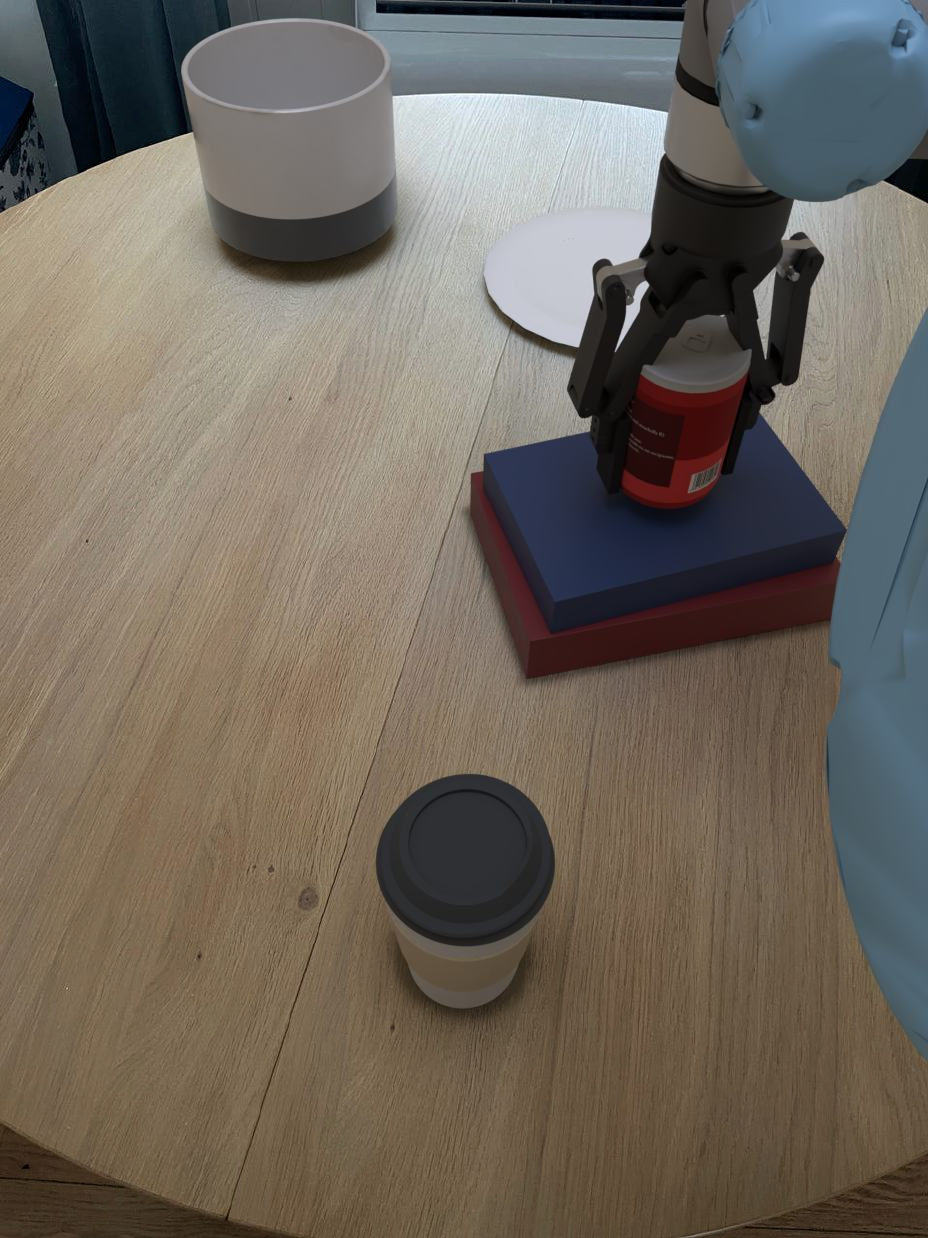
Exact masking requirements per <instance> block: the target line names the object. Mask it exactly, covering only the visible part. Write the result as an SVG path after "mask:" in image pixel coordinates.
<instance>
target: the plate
mask: <svg viewBox="0 0 928 1238" xmlns="http://www.w3.org/2000/svg"><path fill="white" fill-rule="evenodd" d="M651 217H652V212H647V211H642V210H637V209H633V208H627V207H613V206H601V205H595V206H594V205H593V206H580V207H568V208H563V209H559V210H555V211H550V212H546V213H542V214H539V215H536V216H534V217H532V218H530V219H528V220H525V221H523V222H521V223H518V224H516V225H515V226H514V227H512V228H511V229H510V230H508V231H507V232H505V233H504V234H502V235H501V236H500V237H498V239H497V240H496V242H495V243H494V244H493V246H492V247H491V249H490V250H489V252H488V253H487V254H486V259H485V263H484V269H483V278H484V282H485V285H486V290H487V294H488V296H489V297H490V299H491V300H492V301H493V303H494V304H495V305H496V307H497V308H498V309H499V311H500V312H501V314H503V315H504V316H505V317H507V318H508V319H509V320H511V321H512V322H513V323H515V324H516V325H517V326H519V327H520V328H521V329H523V330H524V331H526V332H528V333H530V334H533V335H535V336H537V337H539V338H542V339H544V340H546V341H548V342H551V343H553V344H556V345H559V346H564V347H568V348H572V349H577V350H578V348H579V345H580V341H581V338H582V334H583V331H584V328H585V324H586V321H587V317H588V314H589V311H590V307H591V304H592V300H593V297H594V286H593V275H592V268H593V265H594V264H595V263H596V262H597V261H598V260H600V259H609V260H610V261H611V263H612V265H613V266H615V265H618V264H621V263H625V262H628V261H631V260H635V259H638V258H639V254H640V252H641V250H642V249H643V247H644V246H645V245H646V243H647V241H648V239H649V237H650V233H651ZM580 236H582V237H580ZM576 237H578V238H576ZM569 238H574V239H569ZM568 239H569V240H568ZM564 240H565V241H564ZM562 241H563V242H562ZM648 287H649V284H648V283H647V281H644V282H642V283H641V284H639V285H638V286H637V288H636V290H635V294H634V296H633V298H634V302H633V303H632V304H631V305H626V317H625V322H624V325H623V329H622V332H621V335H620V338H619V341H618V344H617V347H616V350H617V348H618V347H619V345H620V343H621V342H622V340H623V338H624V337H625V335H626V333H627V332H628V330H629V328H630V326H631V325H632V323H633V321H634V320H635V318H636V316H637V315H638V313H639V311H640V302H641V299H642V297H643V295H644V293H645V292H646V290H647V288H648ZM721 316H722V317H724V318H725V317H726V315H721ZM616 350H615V352H616Z"/></svg>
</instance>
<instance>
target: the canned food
mask: <svg viewBox="0 0 928 1238" xmlns="http://www.w3.org/2000/svg"><path fill="white" fill-rule="evenodd" d="M751 352H752V350H751V349H748V350H745V351H743V350H742V348H741V347H740V346H739V344H738V343H737V341H736V340H735V338H734V337H733V335H732V333H731V332H730V330H729V328H728V324H727V320H726V317H725V316H724V317H722V316H714V315H704V316H701V317H699V318H696V319H693V320H687V321H686V322H685V324H684V325H683V327H682V329H681V330H680V332H679V333H678V335H677V336H676V337H675V338H669V340H668V341H667V343H666V344H665V346H664V347H663V349H662V351H661V352H660V354H659V355H658V357H657V359H656V360H655V362H654V363H653V365H644V366H643V368H642V371H641V374H640V379H639V385H638V389H637V390H636V392H635V394H634V395H633V397H632V398H631V400H630V402H629V403H628V405H627V406H626V408H625V411H626V412H627V414H628V416H629V418H630V420H631V425H630V431H629V436H628V442H627V448H626V454H625V459H624V465H623V471H622V477H621V482H620V488H621V490H622V491H623V492H624V493H625V494H627V495H628V496H629V497H631V498H632V499H634V500H635V501H637V502H640V503H642V504H644V505H648V506H651V507H655V508H662V509H675V508H682V507H686V506H689V505H692V504H694V503H696V502H698V501H700V500H701V499H703V498H704V497H705V496H706V495H707V494H708V493H709V491H710V490H711V489H712V487H713V486H714V485H715V483H716V482H717V480H718V477H719V475H720V471H721V468H722V464H723V461H724V457H725V454H726V450H727V447H728V443H729V439H730V436H731V432H732V429H733V425H734V422H735V418H736V415H737V411H738V407H739V404H740V400H741V397H742V393H743V390H744V386H745V382H746V379H747V374H748V370H749V367H750V360H751Z"/></svg>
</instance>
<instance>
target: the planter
mask: <svg viewBox="0 0 928 1238" xmlns="http://www.w3.org/2000/svg"><path fill="white" fill-rule="evenodd" d="M180 73H181V80H182V85H183V90H184V94H185V100H186V104H187V110H188V113H189V114H188V115H189V120H190V125H191V129H192V135H193V139H194V144H195V149H196V154H197V160H198V165H199V169H200V175H201V179H202V186H203V191H204V195H205V201H206V206H207V209H208V210H207V211H208V217H209V220H210V224H211V226H212V228H213V230H214V232H215V233H216V234H217V236H218V237H219V238H220V239H221V240H222V241H223V242H224V243H226V244H227V245H229V246H230V247H232V248H234V249H236V250H238V251H240V252H242V253H244V254H246V255H247V254H248V255H250V256H254V257H257V258H261V259H265V260H270V261H280V262H293V263H294V262H313V261H315V262H316V261H321V260H322V261H323V260H327V259H332V258H337V257H342V256H344V255H347V254H351V253H354V252H356V251H359V250H360V249H363V248H365V247H367V246H369V245H370V244H372V243H374V242H376V241H377V240H378V239H379V238H381V237H383V235H384V234H385V233H386V232H387V231H389V229H390V228H391V226H392V225H393V223H394V222H395V219H396V217H397V214H398V185H397V184H398V183H397V164H396V162H397V161H396V141H395V139H396V137H395V117H394V95H393V94H394V93H393V75H392V74H393V73H392V59H391V55H390V52H389V50H388V49H387V47H386V46H385V45H384V44H383V43H382V42H381V41H380V40H379V39H378V38H376V37H375V36H374V35H372V34H370V33H369V32H366V31H365V30H362V29H361V28H358V27H355V26H352V25H349V24H345V23H341V22H337V21H331V20H326V19H320V18H319V19H318V18H317V19H316V18H306V17H305V18H301V17H289V18H288V17H287V18H271V19H263V20H258V21H252V22H246V23H243V24H239V25H238V24H237V25H235V26H231V27H228V28H226V29H223V30H220V31H218V32H216V33H213V34H211V35H210V36H207V37H206V38H204V39H203V40H201V41H199V42H198V43H197V44H195V45H194V46H193V47H192V48H191V49H190V50H189V51H188V52H187V54H186V55H185V57H184V59H183V60H182V63H181V70H180Z"/></svg>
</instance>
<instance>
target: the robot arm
mask: <svg viewBox="0 0 928 1238" xmlns="http://www.w3.org/2000/svg"><path fill="white" fill-rule="evenodd" d="M681 30H682V31H681V36H680V43H679V51H678V55H677V60H676V66H675V69H674V74H673V81H672V87H671V92H670V99H669V105H668V111H667V118H666V125H665V130H664V135H663V136H664V137H663V150H664V151H663V152H664V153H663V155H662V156H661V158H660V161H659V166H658V172H657V178H656V185H655V189H654V198H653V203H652V208H651V209H652V210H651V213H652V217H651V233H650V237H649V239H648V241H647V243H646V245H645V246H644V247H643V249H642V250H641V252H640V254H639V258H638V259H635V260H631V261H628V262H625V263H621V264H618V265H615V266H613V265H612V263H611V261H610V260H609V259H600V260H598V261H597V262H596V263H595V264H594V265H593V268H592V275H593V286H594V297H593V300H592V304H591V307H590V311H589V314H588V317H587V321H586V324H585V328H584V331H583V334H582V338H581V341H580V345H579V348H578V349H577V351H576V356H575V357H574V362H573V366H572V369H571V372H570V376H569V379H568V383H567V385H566V392H567V394H568V396H569V399H570V402H571V403H572V405H573V407H574V409H575V411H576V413H577V416H578V417H579V418H580V419H589V418H590V417H591V418H590V419H591V420H590V427H589V429H590V430H589V431H590V434H589V437H590V439H591V442H592V444H593V446H594V448H595V450H596V452H597V454H598V460H597V467H596V469H597V471H598V474H599V476H600V478H601V480H602V482H603V484H604V486H605V489H606V491H607V493H608V495H611V494H617V493H619V488H620V482H621V477H622V471H623V465H624V459H625V454H626V448H627V442H628V436H629V431H630V425H631V420H630V418H629V416H628V414H627V412H626V411H625V408H626V406H627V405H628V403H629V402H630V400H631V398H632V397H633V395H634V394H635V392H636V390H637V389H638V385H639V379H640V374H641V371H642V368H643V366H644V365H653V363H654V362H655V360H656V359H657V357H658V355H659V354H660V352H661V351H662V349H663V347H664V346H665V344H666V343H667V341H668V340H669V338H675V337H676V336H677V335H678V333H679V332H680V330H681V329H682V327H683V325H684V324H685V322H686V321H687V320H693V319H696V318H699V317H701V316H704V315H714V316H721V315H725V318H726V320H727V324H728V328H729V330H730V332H731V333H732V335H733V337H734V338H735V340H736V341H737V343H738V344H739V346H740V347H741V348H742V350H743V351H745V350H748V349H751V350H752V352H751V360H750V367H749V370H748V374H747V379H746V382H745V386H744V390H743V393H742V397H741V400H740V404H739V407H738V411H737V415H736V418H735V422H734V425H733V429H732V432H731V436H730V439H729V443H728V447H727V450H726V454H725V457H724V461H723V464H722V468H721V471H720V472H721V474H722V475H728V474H733V470H734V467H735V463H736V460H737V456H738V453H739V449H740V446H741V442H742V439H743V435H744V432H745V430H749V429H752V428H753V427H754V425H755V424H756V422H757V419H758V415H759V412H760V411H761V408H762V406H768V405H769V404H771V403H772V402H773V401H774V400H775V399H776V396H777V394H776V392H775V390H774V389H773V387H775V386H778V385H780V384H781V385H782V386H783V387H789V386H792V385H794V384H795V383H796V382H797V381H798V379H799V376H800V369H801V362H802V355H803V347H804V341H805V334H806V328H807V320H808V313H809V305H810V298H811V293H812V292H811V291H812V287H813V285H814V283H815V281H816V279H817V277H818V275H819V273H820V271H821V269H822V267H823V266H824V262H825V256H824V254H823V253H822V252H821V251H820V250H819V248H818V247H817V246H816V245H815V244H814V242H813V241H812V240H811V239H810V238H809V236H808V235H807V234H806V233H805V232H804V231H797V232H795V233H793V234H792V235H791V236H790V238H789V239H783V238H784V236H785V233H786V232H787V228H788V224H789V220H790V217H791V213H792V210H793V207H794V202H795V201H798V202H805V203H806V202H807V203H828V202H834V201H837V200H840V199H843V198H844V197H846V196H847V195H848V196H849V195H850V194H854V193H856V192H859V191H861V190H863V189H865V188H868V187H873V186H876V185H878V184H880V183H881V182H882V181H884V180H885V179H887V178H889V177H890V176H892V174H894V173H895V172H896V171H897V170H898V169H900V168H901V166H903V164H905V163H906V161H907V160H908V159H909V160H911V159H912V160H916V159H917V160H928V0H686V3H685V10H684V18H683V24H682V29H681ZM774 269H775V274H774V280H773V289H772V298H771V299H772V300H771V309H770V310H771V311H770V319H769V328H768V337H767V345H766V346H767V347H766V356H765V351H764V346H763V343H762V338H761V332H760V329H759V323H758V320H759V318H760V316H759V311H758V307H757V302H756V297H755V293H754V291H755V290H756V288H757V287H758V286H759V285H760V284H761V283H762V282H763V281H764V280H765V279H766V278H767V277H768V276H769V274H770V273H771V272H772V271H773V270H774ZM644 281H647V283H648V284H649V287H648V288H647V290H646V292H645V293H644V295H643V297H642V299H641V302H640V311H639V313H638V315H637V316H636V318H635V320H634V321H633V323H632V325H631V326H630V328H629V330H628V332H627V333H626V335H625V337H624V338H623V340H622V342H621V343H620V345H619V347H618V348H617V350H616V347H617V344H618V341H619V338H620V335H621V332H622V329H623V325H624V322H625V317H626V305H631V304H632V303H633V302H634V298H633V296H634V294H635V290H636V288H637V286H638V285H639V284H641V283H642V282H644ZM615 350H616V352H615ZM874 432H875V433H874V435H873V438H872V441H871V445H870V448H869V451H868V454H867V458H866V460H865V463H864V466H863V469H862V471H861V475H860V477H859V478H860V479H859V482H858V486H857V489H856V493H855V497H854V500H853V505H852V509H851V513H850V516H849V521H848V525H847V532H846V534H845V539H844V546H843V550H842V556H841V559H840V563H841V564H840V569H839V573H838V578H837V583H836V590H835V596H834V602H833V609H832V617H831V619H830V625H829V634H828V635H829V636H828V645H827V658H828V661H829V663H830V664H831V665H832V666H833V667H836V668H837V669H839V670H840V672H841V680H840V681H841V682H840V688H839V695H838V700H837V704H836V707H835V710H834V712H833V715H832V717H831V719H830V721H829V722H828V724H827V725H826V733H825V734H826V735H825V740H826V741H825V757H824V759H825V761H824V772H825V781H826V790H827V797H828V812H829V820H830V828H831V829H830V830H831V835H832V842H833V848H834V853H835V859H836V864H837V869H838V874H839V878H840V881H841V882H840V883H841V884H842V885H841V886H842V888H843V892H844V895H845V899H846V903H847V906H848V911H849V913H850V916H851V920H852V923H853V926H854V930H855V933H856V936H857V939H858V942H859V945H860V948H861V949H862V952H863V955H864V957H865V959H866V961H867V963H868V966H869V969H870V971H871V973H872V975H873V978H874V980H875V982H876V984H877V986H878V988H879V990H880V992H881V993H882V996H883V997H884V999H885V1001H886V1003H887V1006H888V1007H889V1009H890V1011H891V1012H892V1014H893V1016H894V1017H895V1019H896V1021H897V1022H898V1024H899V1026H900V1027H901V1028H902V1030H903V1032H904V1033H905V1035H906V1036H907V1038H908V1040H909V1041H910V1042H911V1044H912V1045H913V1047H914V1048H915V1049H916V1050H917V1052H918V1053H919V1054H920V1055H921V1057H922V1058H923V1059H924V1060H925V1061H926V1063H928V306H927V307H926V308H925V310H924V312H923V315H922V317H921V319H920V321H919V323H918V326H917V327H916V330H915V332H914V334H913V336H912V338H911V340H910V343H909V344H908V347H907V350H906V352H905V354H904V356H903V359H902V361H901V363H900V366H899V368H898V370H897V373H896V376H895V377H894V380H893V383H892V384H891V388H890V390H889V392H888V395H887V398H886V400H885V403H884V405H883V409H882V411H881V414H880V416H879V420H878V422H877V426H876V428H875V431H874Z"/></svg>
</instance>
